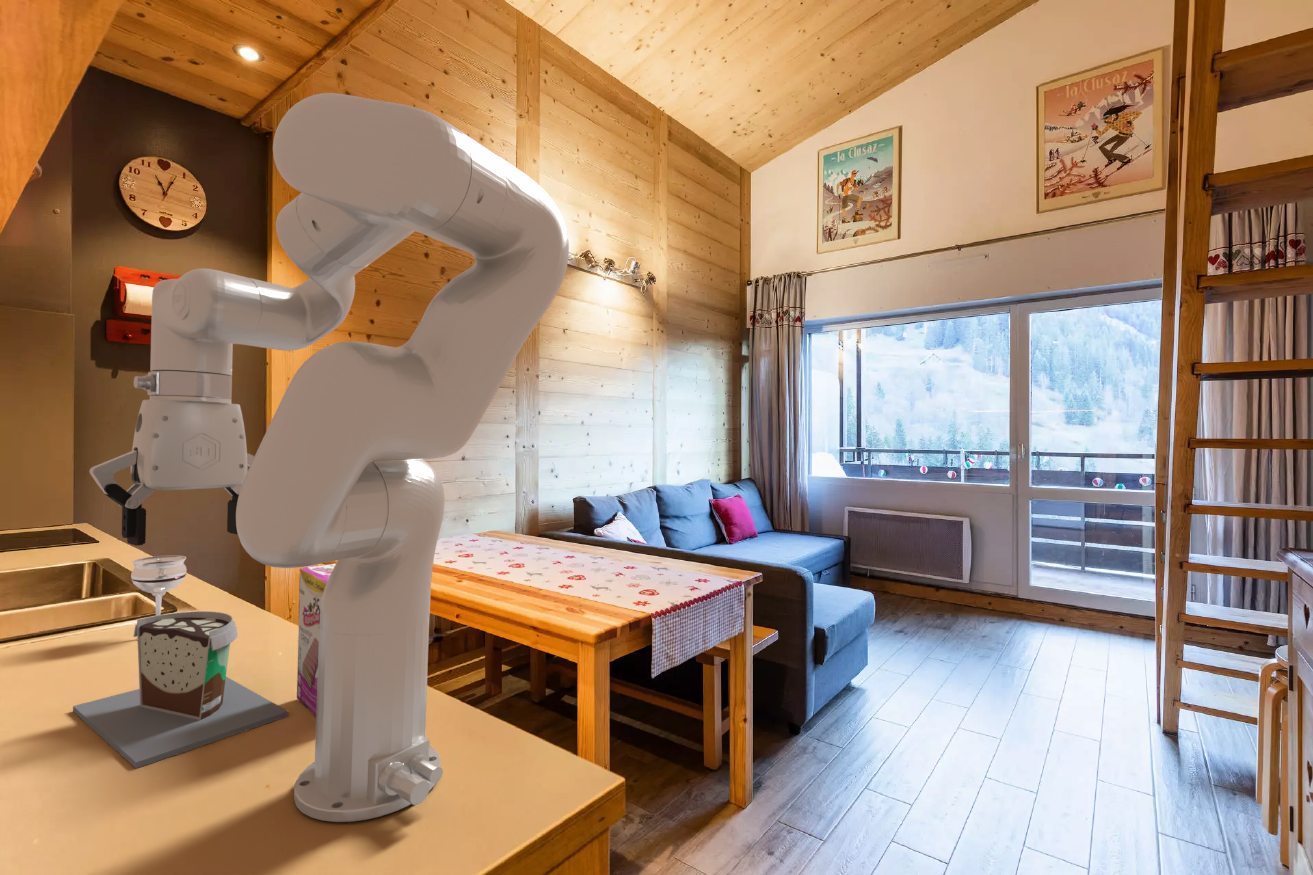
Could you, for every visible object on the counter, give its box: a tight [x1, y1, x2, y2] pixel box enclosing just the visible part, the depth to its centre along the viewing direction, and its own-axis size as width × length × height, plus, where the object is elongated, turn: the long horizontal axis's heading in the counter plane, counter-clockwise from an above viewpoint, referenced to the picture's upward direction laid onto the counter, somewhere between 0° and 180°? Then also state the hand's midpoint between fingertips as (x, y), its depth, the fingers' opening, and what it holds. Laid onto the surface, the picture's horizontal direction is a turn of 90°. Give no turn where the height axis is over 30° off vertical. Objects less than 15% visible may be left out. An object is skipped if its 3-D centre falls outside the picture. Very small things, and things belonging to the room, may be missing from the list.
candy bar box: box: [296, 563, 336, 717], centre depth 73 cm, size 11×5×16 cm, turn 47°
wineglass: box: [130, 555, 188, 641], centre depth 95 cm, size 7×7×12 cm
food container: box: [133, 610, 239, 720], centre depth 72 cm, size 12×6×10 cm, turn 74°
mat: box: [72, 676, 289, 769], centre depth 71 cm, size 20×14×1 cm
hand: (188, 538), depth 70 cm, fingers open, 9 cm apart
